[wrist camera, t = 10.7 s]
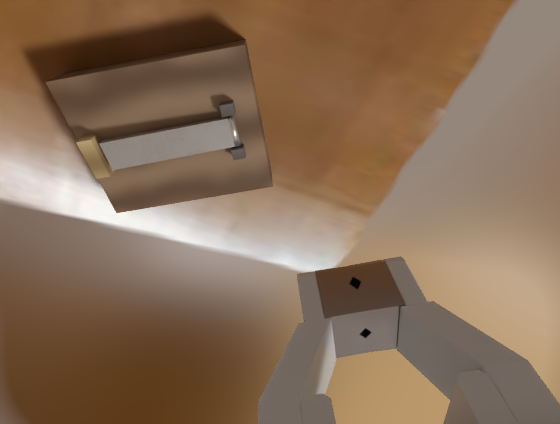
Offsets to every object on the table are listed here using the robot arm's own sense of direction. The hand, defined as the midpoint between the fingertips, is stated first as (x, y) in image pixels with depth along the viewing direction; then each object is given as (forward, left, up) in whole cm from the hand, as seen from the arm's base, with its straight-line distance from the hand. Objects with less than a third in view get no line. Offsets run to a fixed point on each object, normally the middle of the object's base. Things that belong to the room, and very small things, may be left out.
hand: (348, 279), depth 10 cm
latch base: (+5, -13, -33) cm, 36 cm away
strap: (+5, -13, -28) cm, 31 cm away
